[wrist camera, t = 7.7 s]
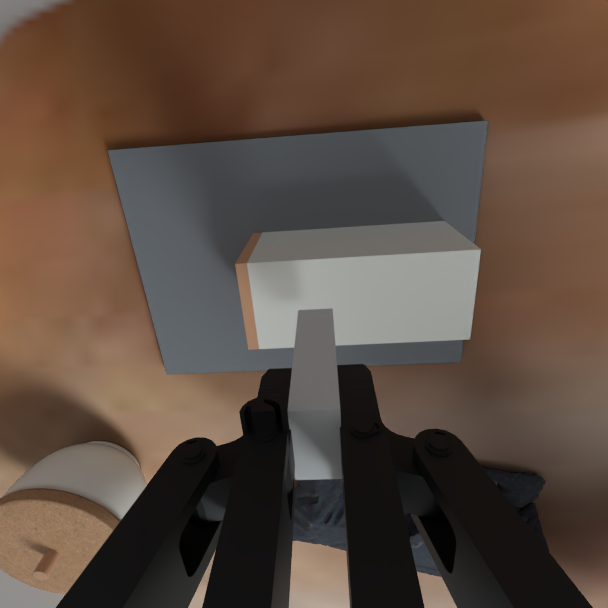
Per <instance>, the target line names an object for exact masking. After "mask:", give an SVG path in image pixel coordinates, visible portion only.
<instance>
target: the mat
mask: <svg viewBox="0 0 608 608" xmlns="http://www.w3.org/2000/svg"><path fill="white" fill-rule="evenodd" d="M487 129H488V121H473V122H460V123H447V124H435V125H422V126H409V127H396V128H384V129H371V130H358V131H345V132H333V133H320V134H307V135H294V136H282V137H269V138H256V139H243V140H231V141H218V142H205V143H192V144H180V145H167V146H154V147H141V148H129V149H116V150H108V154H109V158H110V162H111V165H112V169H113V173H114V177H115V181H116V184H117V188H118V192H119V196H120V199H121V203H122V207H123V211H124V215H125V218H126V222H127V226H128V230H129V233H130V237H131V241H132V245H133V249H134V252H135V256H136V260H137V264H138V267H139V271H140V275H141V279H142V283H143V286H144V290H145V294H146V298H147V301H148V305H149V309H150V313H151V316H152V320H153V324H154V328H155V332H156V335H157V339H158V343H159V347H160V350H161V354H162V358H163V362H164V366H165V369H166V373H167V374H190V373H214V372H238V371H262V370H268V369H277V368H292V364H293V355H294V348H273V349H251V350H248V344H247V338H246V331H245V325H244V318H243V312H242V305H241V299H240V293H239V286H238V280H237V273H236V267H235V263H236V262H237V260H238V258H239V256H240V255H241V253H242V251H243V250H244V248H245V246H246V244H247V243H248V241H249V239H250V238H251V236H252V234H253V233H261V232H277V231H293V230H308V229H324V228H340V227H355V226H371V225H387V224H402V223H418V222H434V221H445V222H447V223H448V224H449V225H451V226H452V227H453V228H454V229H456V230H457V231H458V232H459V233H461V234H462V235H463V236H465V237H466V238H467V239H468V240H470V241H471V242H472V243H473V244H474V243H475V235H476V226H477V217H478V208H479V199H480V191H481V182H482V173H483V164H484V155H485V147H486V138H487ZM462 349H463V340H449V341H427V342H405V343H383V344H361V345H339V346H336V359H337V365H349V364H364V365H365V366H381V365H405V364H429V363H453V362H461V358H462Z"/></svg>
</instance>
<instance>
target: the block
mask: <svg viewBox="0 0 608 608" xmlns="http://www.w3.org/2000/svg"><path fill="white" fill-rule="evenodd" d="M480 254H481V249H480V248H479V247H477V246H476V245H475V244H473V243H472V242H471V241H470V240H468V239H467V238H466V237H465V236H463V235H462V234H461V233H459V232H458V231H457V230H456V229H454V228H453V227H452V226H451V225H449V224H448V223H447V222H445V221H434V222H418V223H402V224H387V225H371V226H355V227H340V228H324V229H308V230H293V231H277V232H261V233H253V234H252V236H251V238H250V239H249V241H248V243H247V244H246V246H245V248H244V250H243V251H242V253H241V255H240V256H239V258H238V260H237V262H236V263H235V267H236V273H237V280H238V286H239V293H240V299H241V305H242V312H243V318H244V325H245V331H246V338H247V344H248V350H251V349H273V348H294V345H295V336H296V327H297V317H298V310H311V309H330V308H333V319H334V332H335V345H336V346H339V345H361V344H383V343H405V342H427V341H449V340H470V336H471V328H472V320H473V311H474V303H475V295H476V287H477V278H478V270H479V262H480Z"/></svg>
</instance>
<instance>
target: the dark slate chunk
mask: <svg viewBox="0 0 608 608" xmlns="http://www.w3.org/2000/svg"><path fill="white" fill-rule="evenodd" d="M482 468H483V469H484V470H485V472H486V473H487V474H488V475H489V477H490V478H491V479H492V481H493V482H494V483H496V482H498V486H497V487H498V488H499V489H500V491H501V492H502V493H503V495H504V496H505V497H506V498H507V500H508V501H509V502H510V503H511V505H512V506H513V507H514V508H515V510H516V511H517V512H518V514H519V515H520V516H521V517H522V519H523V520H524V521H525V522H526V524H527V525H528V526H529V527H530V529H531V530H532V531H533V533H534V534H535V535H536V536H537V538H538V539H539V540H540V541H541V543H542V544H543V545H544V546H545V548H546V549H547V550H548V552H549V549H548V546H547V543H546V540H545V538H544V535H543V533H542V528H541V524H540V521H539V519H538V513H537V510H536V506H535V504H534V503H531V502H532V501H533V500H535V499H536V498H537V497H538V493H539V492H540V491H541V490H542V488H543V485H544V484H545V482H546V481H545V480H543V479H542V478H541V477H540V476H539V475H537V474H535V475H531V474H530V473H527V472H523V473H521V474H520V473H508V472H505V471H498V470H494V469H490V468H485V467H482ZM294 490H295V507H294V524H293V541H302V542H308V543H313V544H322V545H326V546H327V545H328V546H330V547H333V548H337V549H341V550H345V551H347V550H346V534H345V518H344V506H343V483H342V479H318V480H301V481H300V482H299V485H298V486H297V487H296V488H295V489H294ZM404 515H405V520H406V525H407V529H408V534H409V538H410V543H411V548H412V552H413V557H414V562H415V566H416V571H418V572H421V573H427V574H430V575H435V576H440V577H442V576H441V574H440V572H439V570H438V568H437V566H436V564H435V562H434V560H433V558H432V556H431V554H430V552H429V550H428V548H427V546H426V544H425V543H424V541H423V539H422V537H421V535H420V533H419V531H418V529H417V527H416V525H415V523H414V521H413V519H412V516H411V514H410V513H407V512H404Z"/></svg>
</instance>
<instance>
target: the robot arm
mask: <svg viewBox="0 0 608 608" xmlns="http://www.w3.org/2000/svg"><path fill="white" fill-rule="evenodd" d="M239 413H240V418H241V424H242V429H243V436H242V437H240V438H239V439H237V440H235V441H232V442H230V443H226V444H223V445H219V446H216V445H215V443H214V442H213V441H212V440H210V439H207V438H193V439H189V440H186V441H185V442H183V443H181V444H179V445H178V446H177V447H176V448H175V449H174V450H173V451H172V452H171V454H170V455H169V456H168V458H167V459H166V460H165V462H164V463H163V465H162V466H161V467H160V469H159V470H158V471H157V473H156V474H155V475H154V477H153V478H152V479H151V481H150V482H149V483H148V485H147V486H146V487H145V489H144V490H143V491H142V493H141V494H140V495H139V497H138V498H137V499H136V501H135V502H134V503H133V505H132V506H131V507H130V509H129V510H128V511H127V513H126V514H125V516H124V517H123V518H122V520H121V521H120V522H119V524H118V525H117V526H116V528H115V529H114V530H113V532H112V533H111V534H110V536H109V537H108V538H107V540H106V541H105V542H104V544H103V545H102V546H101V548H100V549H99V550H98V552H97V553H96V554H95V556H94V557H93V558H92V560H91V561H90V562H89V564H88V565H87V566H86V568H85V569H84V571H83V572H82V573H81V575H80V576H79V577H78V579H77V580H76V581H75V583H74V584H73V585H72V587H71V588H70V589H69V591H68V592H67V593H66V595H65V596H64V597H63V599H62V600H61V601H60V603H59V604H58V606H57V607H56V608H188V606H189V604H190V602H191V600H192V598H193V596H194V594H195V592H196V590H197V588H198V585H199V583H200V581H201V579H202V577H203V575H204V573H205V571H206V569H207V567H208V565H209V562H210V560H211V558H212V556H213V554H214V552H215V550H216V552H215V556H214V560H213V565H212V569H211V573H210V577H209V582H208V586H207V590H206V594H205V598H204V603H203V607H202V608H289V591H290V574H291V557H292V541H293V524H294V507H295V490H294V473H295V480H318V479H342V483H343V506H344V518H345V534H346V550H347V566H348V582H349V598H350V608H424V603H423V599H422V594H421V590H420V585H419V580H418V576H417V571H416V566H415V562H414V557H413V552H412V548H411V543H410V538H409V534H408V529H407V525H406V520H405V515H404V512H407V513H410V514H411V516H412V519H413V521H414V523H415V525H416V527H417V529H418V531H419V533H420V535H421V537H422V539H423V541H424V543H425V544H426V546H427V548H428V550H429V552H430V554H431V556H432V558H433V560H434V562H435V564H436V566H437V568H438V570H439V572H440V574H441V576H442V578H443V580H444V582H445V584H446V586H447V588H448V590H449V592H450V594H451V596H452V598H453V600H454V602H455V604H456V606H457V608H593V607H592V606H591V605H590V604H589V602H588V601H587V600H586V598H585V597H584V596H583V595H582V593H581V592H580V591H579V590H578V588H577V587H576V586H575V585H574V583H573V582H572V581H571V579H570V578H569V577H568V576H567V574H566V573H565V572H564V571H563V569H562V568H561V567H560V566H559V564H558V563H557V562H556V560H555V559H554V558H553V557H552V555H551V554H550V553H549V552H548V550H547V549H546V548H545V546H544V545H543V544H542V543H541V541H540V540H539V539H538V538H537V536H536V535H535V534H534V533H533V531H532V530H531V529H530V527H529V526H528V525H527V524H526V522H525V521H524V520H523V519H522V517H521V516H520V515H519V514H518V512H517V511H516V510H515V508H514V507H513V506H512V505H511V503H510V502H509V501H508V500H507V498H506V497H505V496H504V495H503V493H502V492H501V491H500V489H499V488H498V487H497V486H496V484H495V483H494V482H493V481H492V479H491V478H490V477H489V475H488V474H487V473H486V472H485V470H484V469H483V468H482V467H481V465H480V464H479V463H478V462H477V460H476V459H475V458H474V456H473V455H472V454H471V453H470V451H469V450H468V449H467V448H466V446H465V445H464V444H463V443H462V441H461V440H460V439H458V438H457V437H456V436H455V435H454V434H451V433H449V432H447V431H445V430H440V429H427V430H424V431H422V432H420V433H419V434H418V435H417V436H416V437H415V439H414V438H409V437H405V436H401V435H398V434H395V433H394V432H392V431H390V430H389V429H387V428H386V427H385V426H384V424H383V423H382V421H381V418H380V413H379V409H378V404H377V399H376V394H375V391H374V385H373V380H372V375H371V371H370V370H369V369H368V368H367V367H366V366H365V365H364V364H349V365H337V359H336V345H335V332H334V319H333V308H330V309H311V310H298V317H297V327H296V336H295V345H294V355H293V364H292V368H277V369H268V371H267V372H266V373H265V374H264V375H263V376H262V378H261V383H260V388H259V392H258V396H257V398H255V399H253V400H251V401H248V402H247V403H246V404H245V405H244V406H242V408H241V410H240V412H239Z"/></svg>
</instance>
